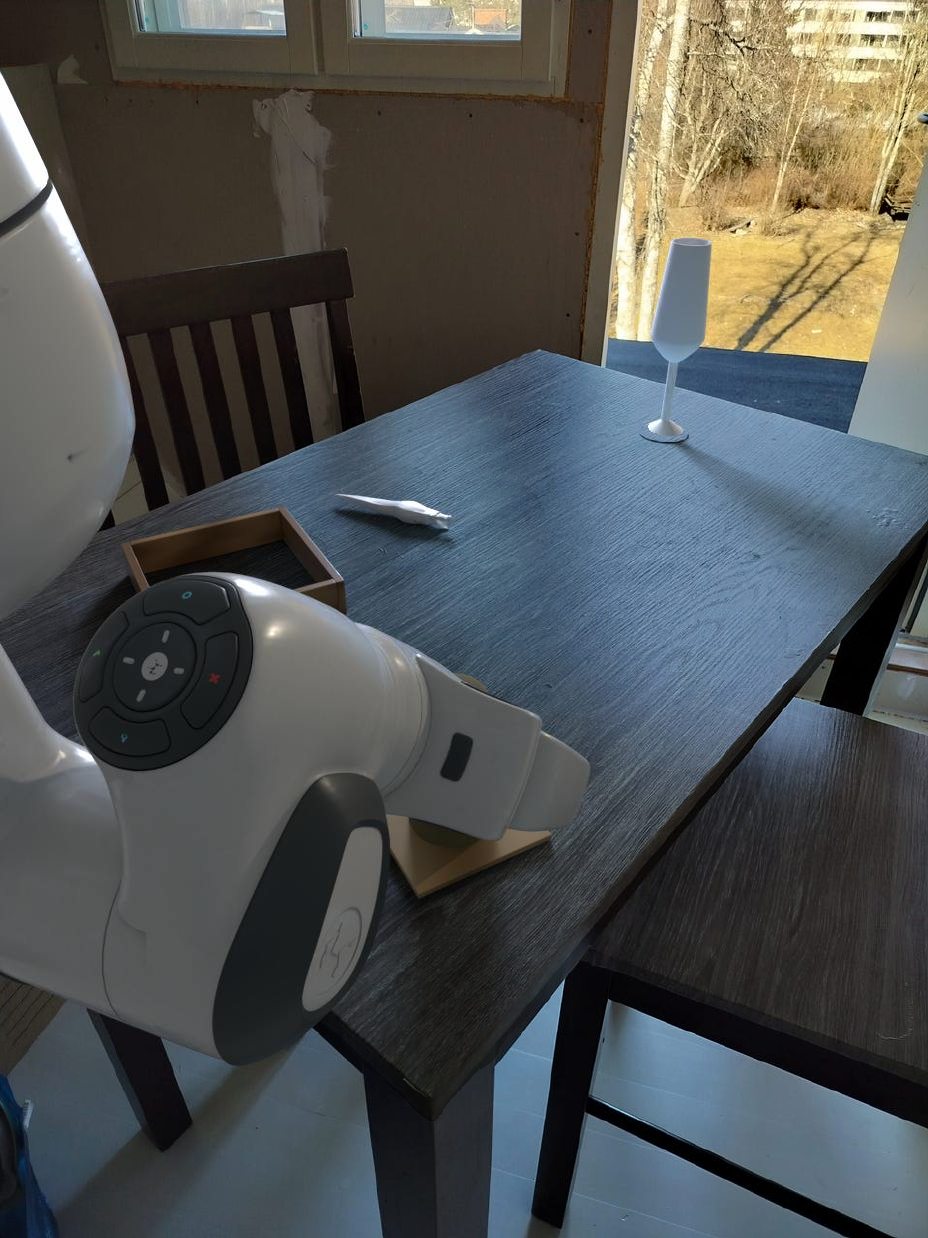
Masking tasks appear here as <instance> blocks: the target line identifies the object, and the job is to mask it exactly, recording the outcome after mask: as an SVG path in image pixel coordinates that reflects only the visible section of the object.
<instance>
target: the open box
mask: <svg viewBox="0 0 928 1238" xmlns="http://www.w3.org/2000/svg"><path fill="white" fill-rule="evenodd" d="M280 541H284V543H285V544H286V545H287V547H288V548H289V549H290V551H291V552H292V553H293V554H294V556H295V557H296V559H297V560H298V561H299V563H300V564H301V565H302V566H303V568H304V569H305V571H306V572H307V573H308V574H309V576H310V577H311V578H312V580H313V581H314V582H315V583H313V584H308V585H305V586H302V587H297V588H294V589H293V590H294V591H296V592H299V593H301V594H304V595H306V596H308V597H311V598H313V599H315V600H317V601H319V602H322V603H324V604H326V605H328V606H330V607H332V608H334V609H336V610H337V611H339V612H341V613H342V614H345V613H347V612H348V607H347V597H346V595H347V594H346V584H345V583H346V582H345V580H344V578H343V577H342V576H341V574H340V573H339V572H338V570H336V568H335V567H334V566H333V565H332V563H331V562H330V561H329V560H328V559H327V557H326V556H325V555H324V553H323V552H322V551H321V550H320V549H319V547H318V546H317V545H316V543H315V542H314V541H313V540H312V539H311V538H310V536H309V535H308V533H307V532H306V531H305V530H304V528H302V526H301V525H300V524H299V522H298V521H297V520H296V519H295V518H294V516H293V515H292V514H291V513H290V511H289V510H288V509H287V507H286V506H284V505H283V506H278V507H275V508H270V509H265V510H261V511H257V512H252V513H247V514H244V515H240V516H235V517H231V518H226V519H222V520H218V521H213V522H209V523H205V524H200V525H196V526H192V527H187V528H182V529H178V530H174V531H169V532H166V533H161V534H156V535H152V536H148V537H143V538H138V539H135V540H130V541H126V542H121V543H120V548H121V551H122V555H123V559H124V563H125V568H126V571H127V575H128V577H129V579H130V582H131V584H132V587H133V588H134V591H135V594H138V593H140V592H142V591H143V590H145V589H147V588H149V587H150V585H149V583H148V580H147V579H146V577H145V574H146V575H147V574H151V573H153V572H158V571H162V570H165V569H170V568H175V567H177V566H182V565H185V564H191V563H195V562H199V561H202V560H206V559H210V558H215V557H218V556H222V555H227V554H231V553H235V552H239V551H244V550H246V549H252V548H255V547H259V546H263V545H268V544H272V543H274V542H275V543H276V542H280Z"/></svg>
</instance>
